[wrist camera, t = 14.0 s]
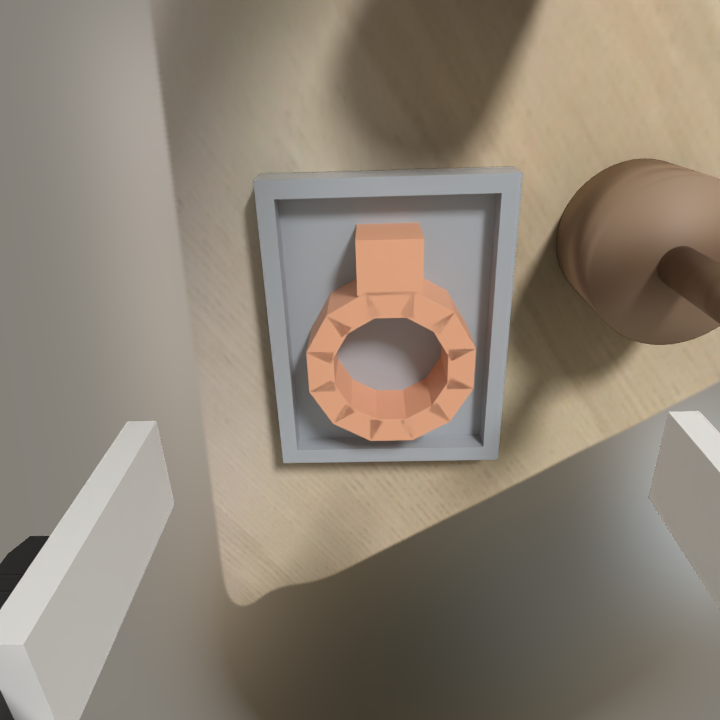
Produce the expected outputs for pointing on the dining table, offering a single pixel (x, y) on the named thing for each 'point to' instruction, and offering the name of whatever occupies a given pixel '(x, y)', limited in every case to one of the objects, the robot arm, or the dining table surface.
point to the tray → (388, 335)
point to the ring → (390, 300)
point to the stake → (646, 250)
